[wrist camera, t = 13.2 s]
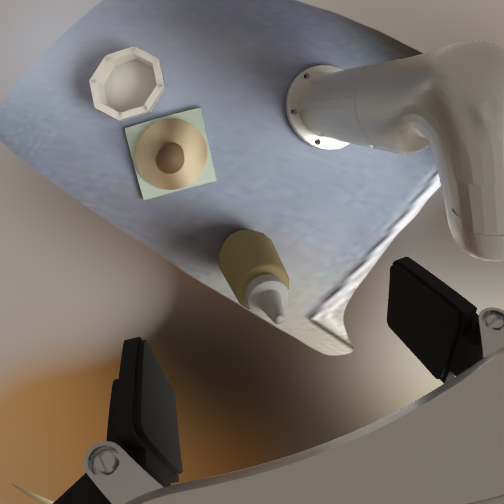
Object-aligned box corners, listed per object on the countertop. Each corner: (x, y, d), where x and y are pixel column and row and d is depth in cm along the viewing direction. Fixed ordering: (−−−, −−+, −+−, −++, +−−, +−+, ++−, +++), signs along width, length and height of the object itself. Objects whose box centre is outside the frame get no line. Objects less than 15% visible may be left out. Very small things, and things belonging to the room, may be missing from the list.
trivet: (200, 107, 37) (200, 107, 36) (215, 179, 41) (216, 180, 40) (125, 128, 36) (124, 128, 35) (144, 199, 40) (143, 200, 39)
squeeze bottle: (273, 224, 46) (326, 283, 30) (263, 273, 49) (306, 348, 33) (218, 219, 44) (245, 281, 27) (211, 271, 46) (233, 351, 30)
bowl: (157, 49, 32) (155, 40, 28) (169, 107, 36) (168, 105, 31) (96, 68, 31) (86, 62, 27) (108, 126, 35) (99, 127, 30)
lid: (200, 112, 36) (204, 111, 31) (212, 180, 40) (217, 189, 35) (129, 128, 35) (121, 130, 30) (144, 195, 39) (139, 208, 34)
